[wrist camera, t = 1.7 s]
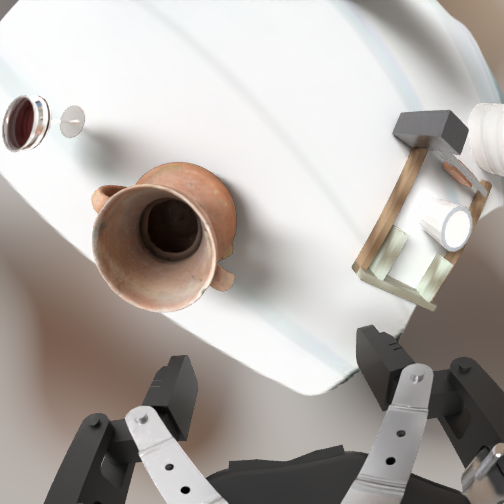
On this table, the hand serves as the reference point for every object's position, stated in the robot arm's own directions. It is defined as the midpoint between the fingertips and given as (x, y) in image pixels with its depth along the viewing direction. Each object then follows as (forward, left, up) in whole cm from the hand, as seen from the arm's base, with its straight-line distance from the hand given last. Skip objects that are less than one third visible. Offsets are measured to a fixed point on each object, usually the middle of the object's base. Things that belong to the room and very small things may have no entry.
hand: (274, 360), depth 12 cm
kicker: (-20, +22, -26) cm, 39 cm away
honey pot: (-31, +32, -26) cm, 51 cm away
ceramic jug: (+4, -9, -26) cm, 28 cm away
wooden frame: (-11, +26, -26) cm, 38 cm away
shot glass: (-12, +26, -26) cm, 38 cm away
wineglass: (-3, -30, -26) cm, 40 cm away
